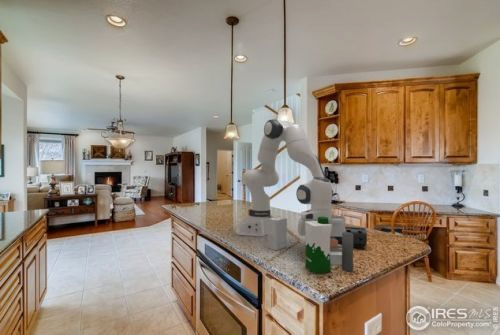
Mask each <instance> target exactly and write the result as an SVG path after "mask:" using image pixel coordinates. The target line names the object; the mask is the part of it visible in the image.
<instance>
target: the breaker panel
mask: <svg viewBox="0 0 500 335" xmlns="http://www.w3.org/2000/svg"><path fill="white" fill-rule="evenodd" d="M330 265H332V266H334V265H335V266H336V265H337V266H342V245H339V244H338V249H335V248H330Z"/></svg>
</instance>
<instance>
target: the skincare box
mask: <svg viewBox="0 0 500 335" xmlns="http://www.w3.org/2000/svg"><path fill="white" fill-rule="evenodd" d="M287 222H288V218H287V217H283V216H280V215H277V216H273V217H271V218H269V219H268V235H267V248H268V249H271V250H272V251H275V250H276V251H279V250H281V249H285V248H287V246H288V244H287V242H288V241H287V231H288V230H287V228H288V227H287V226H288V225H287V224H288V223H287Z"/></svg>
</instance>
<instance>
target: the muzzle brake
mask: <svg viewBox="0 0 500 335" xmlns="http://www.w3.org/2000/svg"><path fill="white" fill-rule="evenodd" d="M345 231H346V232H349V233H353V248H365V247H366V246H367V242H368V238H367V234H368V233H367V230H366V228H365V227H360V226H359V227H355V226H354V227H353V226H346V225H345ZM335 239H336V240H338V245H342V237H335Z"/></svg>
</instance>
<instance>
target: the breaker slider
mask: <svg viewBox="0 0 500 335" xmlns="http://www.w3.org/2000/svg"><path fill="white" fill-rule="evenodd" d="M338 245H339V244H338V240H336V239H330V248H335V249H338Z"/></svg>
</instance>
